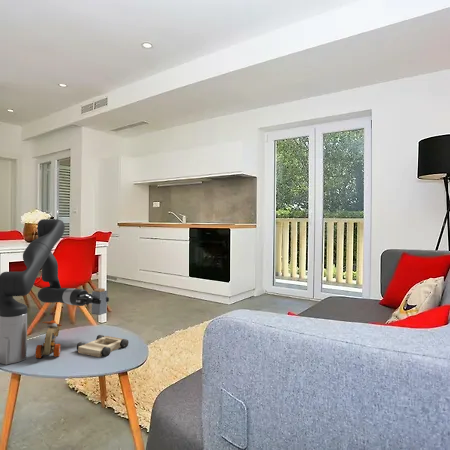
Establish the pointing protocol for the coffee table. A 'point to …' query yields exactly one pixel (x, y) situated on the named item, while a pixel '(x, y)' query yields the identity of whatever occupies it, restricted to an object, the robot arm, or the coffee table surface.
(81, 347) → the chassis
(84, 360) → the coffee table surface
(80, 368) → the coffee table surface
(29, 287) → the robot arm
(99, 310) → the block
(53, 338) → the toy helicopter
